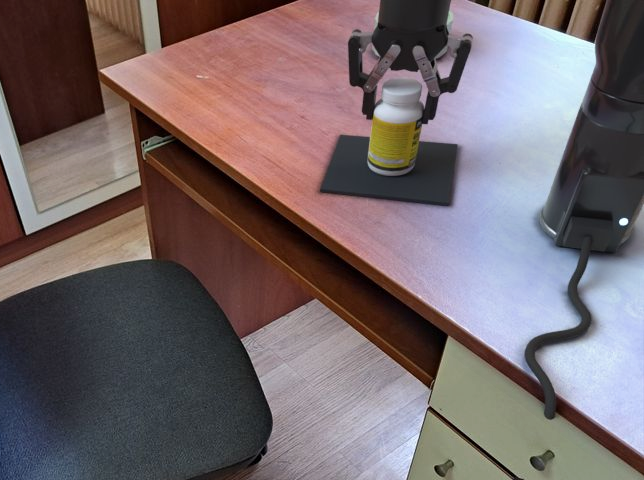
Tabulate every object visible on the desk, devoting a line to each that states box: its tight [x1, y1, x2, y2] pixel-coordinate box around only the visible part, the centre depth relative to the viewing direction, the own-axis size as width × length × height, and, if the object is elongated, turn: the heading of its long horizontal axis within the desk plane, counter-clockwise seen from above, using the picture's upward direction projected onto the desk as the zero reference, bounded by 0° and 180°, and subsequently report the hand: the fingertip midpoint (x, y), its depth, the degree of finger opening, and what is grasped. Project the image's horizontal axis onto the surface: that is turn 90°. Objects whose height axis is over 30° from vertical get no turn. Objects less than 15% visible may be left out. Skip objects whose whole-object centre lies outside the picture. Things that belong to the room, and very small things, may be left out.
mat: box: [319, 134, 459, 207], centre depth 88 cm, size 14×16×1 cm
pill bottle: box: [368, 76, 425, 176], centre depth 84 cm, size 6×6×11 cm
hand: (397, 118), depth 83 cm, fingers closed on pill bottle, 6 cm apart
